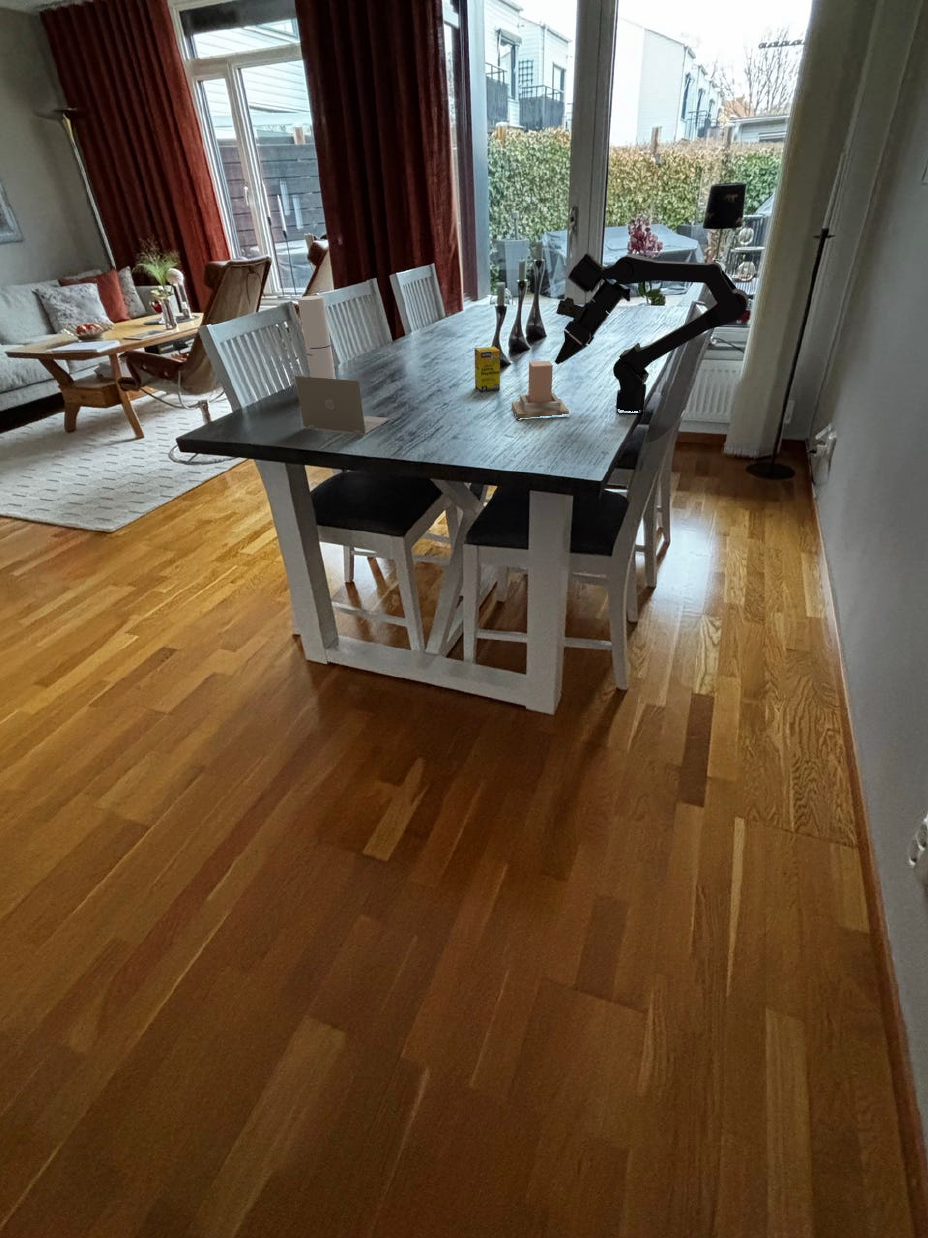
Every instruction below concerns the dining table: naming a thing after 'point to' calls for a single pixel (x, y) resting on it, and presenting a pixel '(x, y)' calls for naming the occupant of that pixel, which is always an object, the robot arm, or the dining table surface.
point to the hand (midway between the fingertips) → (558, 362)
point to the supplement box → (487, 369)
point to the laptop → (334, 406)
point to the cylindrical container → (316, 336)
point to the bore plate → (538, 407)
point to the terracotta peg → (540, 381)
